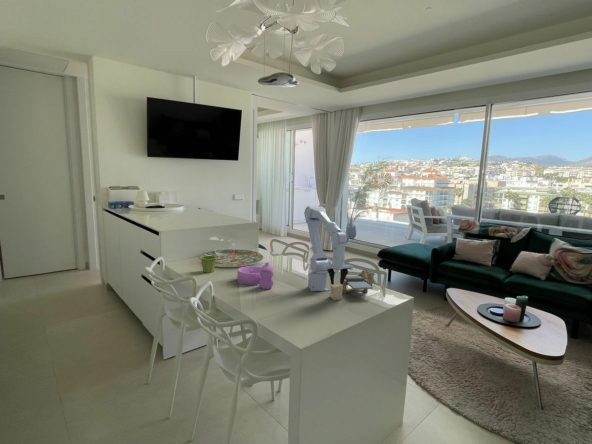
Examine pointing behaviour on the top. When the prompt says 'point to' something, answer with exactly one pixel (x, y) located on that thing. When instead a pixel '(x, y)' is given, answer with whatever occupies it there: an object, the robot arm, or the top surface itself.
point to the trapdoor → (357, 285)
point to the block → (336, 292)
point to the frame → (353, 289)
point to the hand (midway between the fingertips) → (336, 283)
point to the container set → (256, 275)
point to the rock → (367, 276)
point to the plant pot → (208, 263)
